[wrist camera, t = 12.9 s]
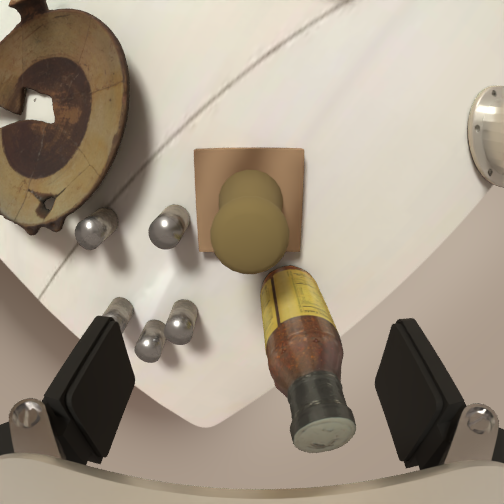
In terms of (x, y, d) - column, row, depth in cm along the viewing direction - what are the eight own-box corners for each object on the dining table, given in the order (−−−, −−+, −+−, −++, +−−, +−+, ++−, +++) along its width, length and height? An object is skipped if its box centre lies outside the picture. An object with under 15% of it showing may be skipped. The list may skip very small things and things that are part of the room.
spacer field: (189, 204, 31) (179, 217, 27) (201, 341, 38) (196, 365, 34) (92, 208, 31) (72, 221, 27) (119, 336, 38) (107, 358, 34)
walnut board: (301, 148, 29) (304, 149, 28) (297, 245, 33) (299, 251, 32) (196, 148, 29) (193, 150, 28) (201, 246, 33) (199, 251, 32)
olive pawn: (263, 242, 31) (268, 302, 21) (207, 214, 30) (184, 262, 20) (294, 189, 29) (317, 226, 19) (237, 157, 28) (228, 178, 18)
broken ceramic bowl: (-18, 196, 30) (-55, 213, 23) (33, -23, 19) (-2, -39, 12) (117, 241, 33) (86, 272, 26) (195, -25, 22) (180, -60, 15)
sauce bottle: (282, 320, 37) (301, 473, 18) (248, 284, 35) (244, 441, 16) (329, 289, 35) (384, 436, 17) (297, 249, 33) (342, 395, 15)
